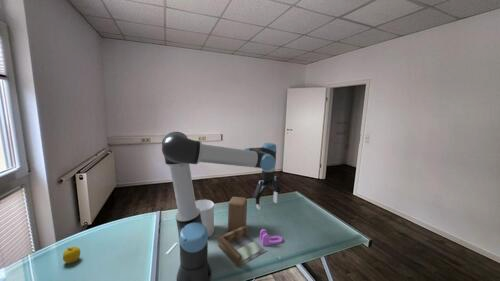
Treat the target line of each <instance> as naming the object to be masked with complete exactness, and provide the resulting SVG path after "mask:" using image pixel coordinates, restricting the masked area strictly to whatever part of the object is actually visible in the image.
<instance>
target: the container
mask: <svg viewBox="0 0 500 281" xmlns="http://www.w3.org/2000/svg"><path fill="white" fill-rule="evenodd" d="M195 202H196V207H197V208H199V209H200V213H201V220H202V224H203V225H204V226H205V227H206V229H207V233H208V238H209V237H211V236H212V235H213V234H214V232H215V203H214V202H213V201H212V200H210V199H197V200H195Z"/></svg>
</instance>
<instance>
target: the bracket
mask: <svg viewBox="0 0 500 281" xmlns="http://www.w3.org/2000/svg"><path fill="white" fill-rule="evenodd" d="M259 242H260V243H261V246H262V247H265V246H271V245H277V244H281V243H283V237H282V236H280V235H271V236H270V235H269V234H268V232H267V229H266V228H262V229H261V230H260V231H259Z"/></svg>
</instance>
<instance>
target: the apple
mask: <svg viewBox="0 0 500 281" xmlns="http://www.w3.org/2000/svg"><path fill="white" fill-rule="evenodd" d="M80 256H81V249H80V247H78V246H72V247H67V248H66V249H65V250H64V252H63V254H62V261H64V263H66V264H73V263H76V262H77V261H78V260H79V258H80Z"/></svg>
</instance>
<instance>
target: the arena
mask: <svg viewBox="0 0 500 281" xmlns="http://www.w3.org/2000/svg"><path fill="white" fill-rule="evenodd" d="M217 241H218V242H217V243H218V245H217V246H218V248H219V249H220V250H221V251H222V253H224V254H225V255H226V256H227V258H228V259H229V260H230V261H231V262H232V263H233V264H234V266H236V267H237V269H239V268H240V267H242V266H243V265H245V264H247V263H249V262H250V261H252V260H254V259H256V258H257V257H259V256H261V255H263V254H264V253H266V252H267V250H266V249H265V248H264V246H262V245H260V243H258V242H256V241H255V240H254V239H253V238H252V237H251V236H249V235H248V226H247V224H246V225H245V226H242V227H240V228H238V229H235V230H233V231H231V232H228V231H227V232H226V233H224V234H222V235H219V236H218V238H217Z"/></svg>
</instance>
